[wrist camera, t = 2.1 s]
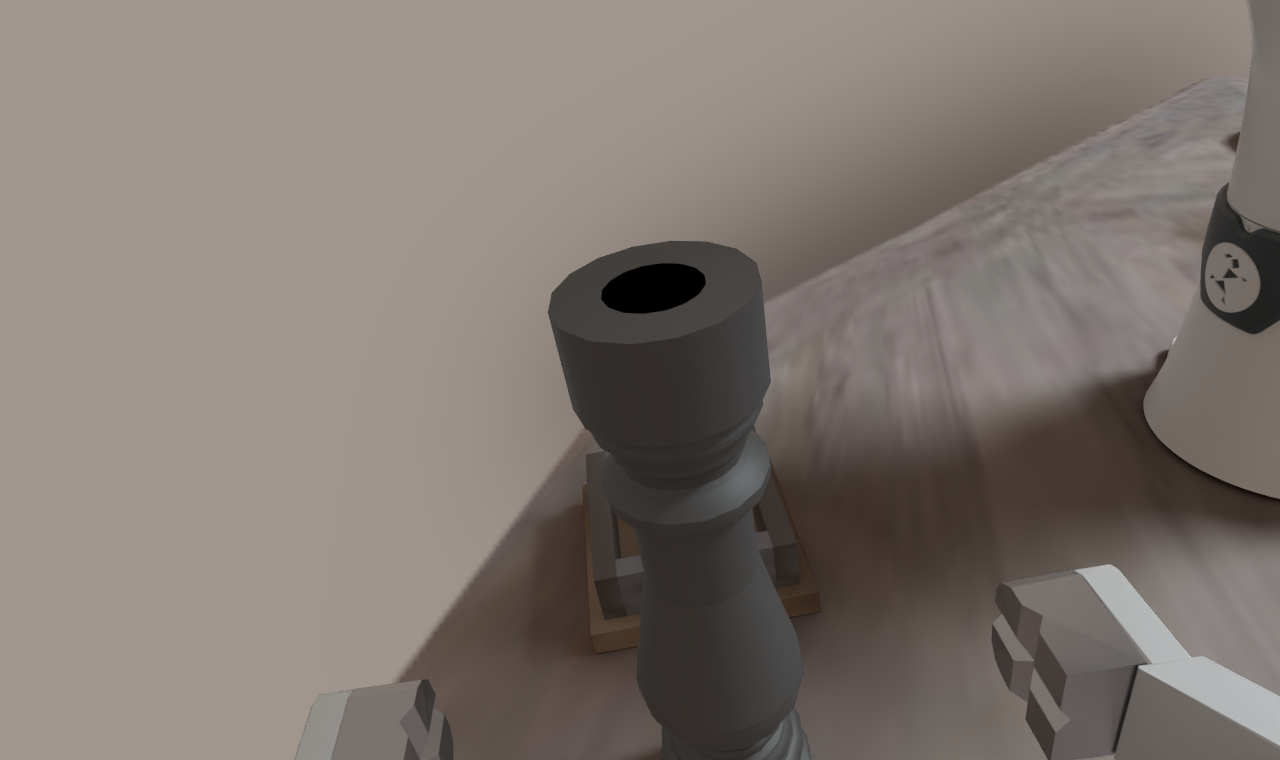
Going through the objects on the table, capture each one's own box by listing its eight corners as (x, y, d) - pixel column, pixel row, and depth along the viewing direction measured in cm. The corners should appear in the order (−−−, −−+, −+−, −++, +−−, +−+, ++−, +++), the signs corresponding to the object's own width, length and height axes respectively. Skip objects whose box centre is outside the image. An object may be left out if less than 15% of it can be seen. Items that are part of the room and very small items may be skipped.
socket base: (767, 468, 52) (762, 413, 50) (820, 611, 42) (816, 551, 40) (587, 502, 52) (572, 449, 50) (596, 654, 42) (578, 596, 40)
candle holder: (657, 754, 37) (529, 267, 24) (785, 717, 38) (732, 219, 24) (691, 895, 32) (550, 375, 18) (838, 850, 32) (808, 311, 19)
